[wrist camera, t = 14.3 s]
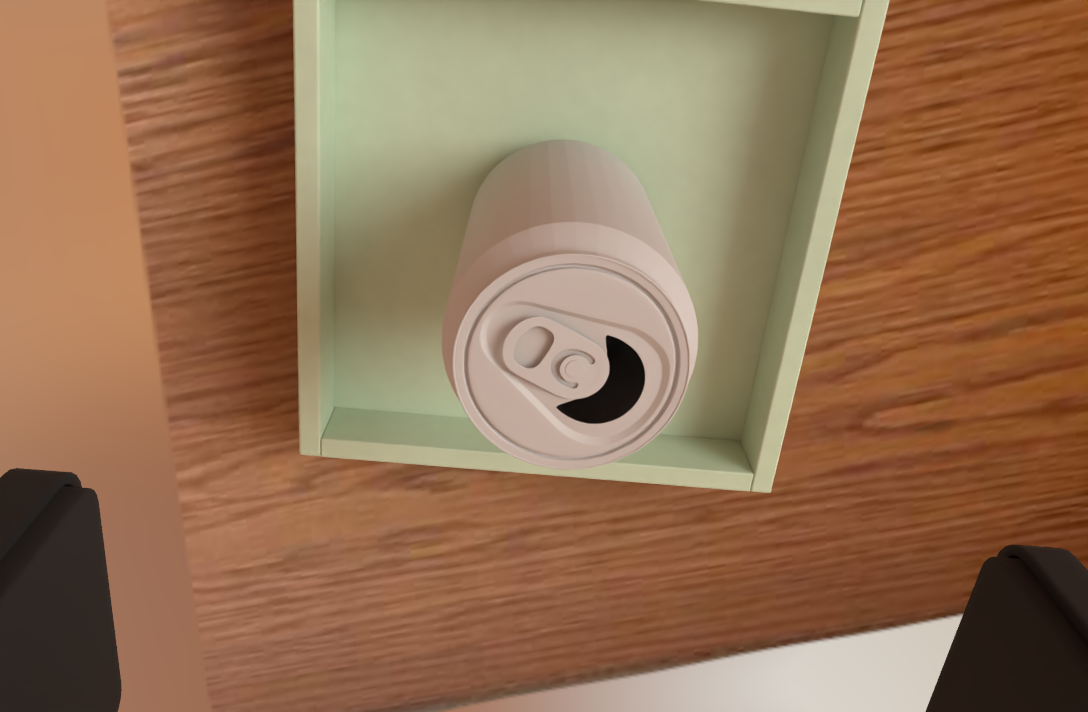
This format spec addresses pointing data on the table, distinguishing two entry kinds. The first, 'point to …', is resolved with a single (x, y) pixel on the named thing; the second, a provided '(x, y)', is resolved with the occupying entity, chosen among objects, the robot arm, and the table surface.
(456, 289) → the beverage can
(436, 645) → the table surface
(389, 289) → the tray
